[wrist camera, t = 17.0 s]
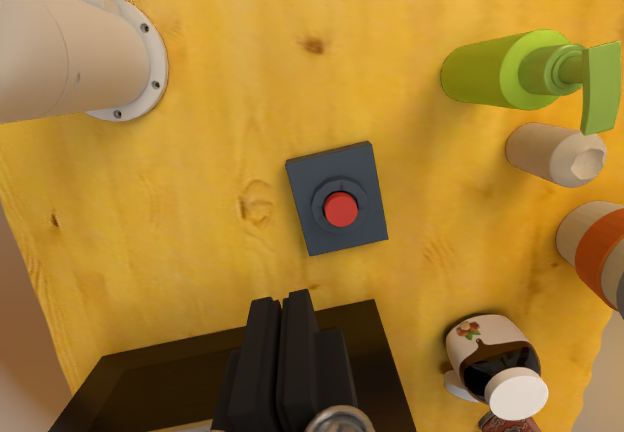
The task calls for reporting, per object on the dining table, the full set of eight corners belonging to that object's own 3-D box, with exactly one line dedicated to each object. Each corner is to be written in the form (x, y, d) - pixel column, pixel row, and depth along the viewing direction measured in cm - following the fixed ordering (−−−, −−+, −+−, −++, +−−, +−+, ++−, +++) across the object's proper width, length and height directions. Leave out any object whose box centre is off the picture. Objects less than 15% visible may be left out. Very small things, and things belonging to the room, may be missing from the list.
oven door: (87, 329, 51) (-103, 551, 27) (367, 268, 49) (430, 453, 25) (106, 364, 54) (-54, 598, 29) (375, 308, 51) (440, 512, 27)
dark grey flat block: (286, 160, 44) (284, 167, 40) (368, 140, 43) (374, 146, 39) (309, 248, 48) (309, 262, 44) (384, 231, 47) (391, 244, 44)
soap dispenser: (445, 116, 42) (557, 145, 24) (437, 52, 40) (556, 29, 21) (495, 103, 42) (651, 122, 23) (491, 38, 40) (660, 1, 21)
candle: (495, 146, 44) (548, 164, 34) (534, 112, 42) (600, 121, 33) (521, 177, 45) (579, 203, 36) (560, 145, 44) (630, 163, 34)
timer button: (321, 195, 42) (322, 200, 40) (352, 188, 41) (354, 193, 40) (328, 224, 43) (329, 230, 41) (358, 217, 43) (360, 223, 41)
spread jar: (503, 300, 51) (557, 360, 40) (518, 360, 55) (572, 429, 44) (421, 329, 53) (452, 394, 42) (442, 385, 56) (475, 458, 46)
